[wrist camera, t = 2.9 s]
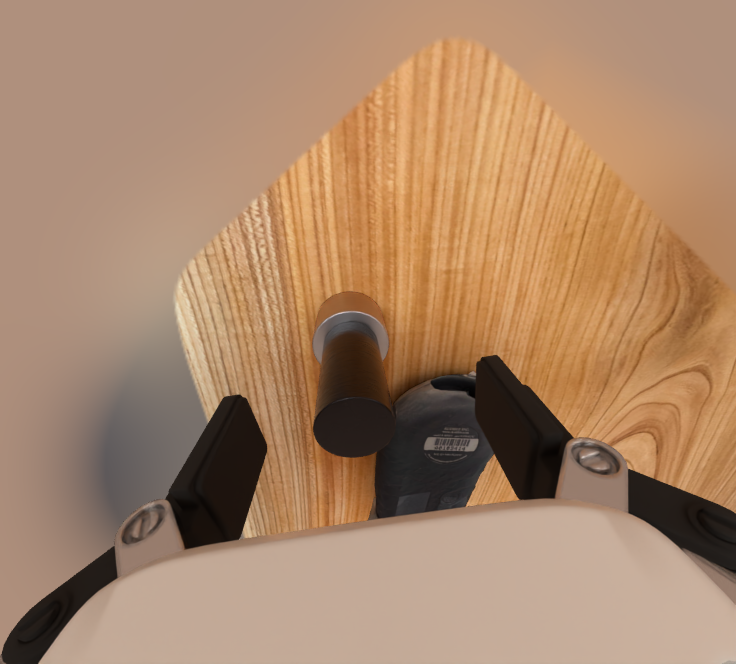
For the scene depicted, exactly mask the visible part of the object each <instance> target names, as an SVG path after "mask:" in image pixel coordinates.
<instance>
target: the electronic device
mask: <svg viewBox="0 0 736 664" xmlns="http://www.w3.org/2000/svg"><path fill="white" fill-rule="evenodd" d="M475 390H476V373H475V372H474V371H472V372H470V373H469V374H467V375H460V374H455V375H447V376H441V377H437V378H434V379H431V380H428V381H425V382H423V383H421V384H418V385H417V386H415V387H413V388H411V389H410V390H408V391H407V392H406V393H404V394H403V395H401V396H400V397H399V398H398V399H397V400H396V401H395V402H394V404H393V406H392V408H393V413H394V417H395V422H396V428H395V432H394V435H393V437H392V439H391V440H390V442H389V443H388V444H387V445H386V446H385V447H384V448H382V449H381V450H379V451H377V456H376V468H375V493H376V497H375V498H374V499H373V504H372V508H371V511H370V515H369V518H368V520H375V519H382V518H389V517H396V516H403V515H410V514H418V513H425V512H432V511H439V510H447V509H454V508H461V507H465V506H466V504H467V502H468V500H469V498H470V496H471V493H472V491H473V490H474V488H475V485H476V482H477V480H478V478H479V476H480V474H481V473H482V472H483V470H484V468H485V466H486V464H487V462H488V461H489V460H490V459H491V457H492V456H493V454H494V452H493V450H492V448H491V446H490V445H489V443H488V441H487V439H486V437H485V435H484V433H483V431H482V429H481V428H480V426H479V424H478V422H477V420H476V417H475ZM368 520H367V521H368Z"/></svg>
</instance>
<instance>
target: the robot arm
mask: <svg viewBox="0 0 736 664" xmlns="http://www.w3.org/2000/svg"><path fill="white" fill-rule="evenodd" d="M475 417H476V420H477V422H478V424H479V426H480V428H481V429H482V431H483V433H484V435H485V437H486V439H487V441H488V443H489V445H490V446H491V448H492V450H493V452H494V454H495V456H496V458H497V460H498V462H499V463H500V465H501V467H502V469H503V471H504V473H505V475H506V477H507V479H508V480H509V482H510V484H511V486H512V488H513V490H514V492H515V494H516V495H517V497H518V498H519V499H520V500H518V501H509V502H501V503H493V504H484V505H476V506H468V507H461V508H454V509H447V510H439V511H432V512H425V513H418V514H410V515H403V516H396V517H389V518H382V519H375V520H368V521H361V522H354V523H347V524H340V525H333V526H326V527H319V528H313V529H306V530H299V531H293V532H286V533H279V534H273V535H266V536H259V537H252V538H246V539H240V540H239V538H240V537H241V534H242V531H243V528H244V524H245V521H246V518H247V515H248V511H249V508H250V505H251V502H252V498H253V495H254V492H255V489H256V485H257V482H258V479H259V476H260V472H261V469H262V466H263V463H264V459H265V456H266V453H267V444H266V441H265V439H264V437H263V434H262V432H261V430H260V428H259V425H258V423H257V421H256V419H255V416H254V414H253V412H252V410H251V407H250V405H249V403H248V401H247V399H246V398H245V397H242V396H241V395H232V396H226V397H224V398H223V399H222V401H221V403H220V404H219V406H218V408H217V409H216V411H215V413H214V414H213V416H212V418H211V420H210V421H209V423H208V425H207V426H206V428H205V430H204V432H203V433H202V435H201V437H200V438H199V440H198V442H197V444H196V445H195V447H194V449H193V450H192V452H191V454H190V455H189V457H188V459H187V461H186V463H185V464H184V466H183V467H182V469H181V471H180V472H179V474H178V476H177V478H176V479H175V481H174V483H173V484H172V486H171V488H170V489H169V494H168V495H167V497H166V499H165V500H164V499H157V500H154V501H151V502H148V503H146V504H144V505H143V506H141V507H139V508H138V509H137V510H135V511H134V512H133V513H132V514H131V515H130V516H129V517H128V518H127V519H126V520H125V521H124V522H123V523H122V525H121V526H120V528H119V529H118V531H117V533H116V536H115V542H114V545H115V546H114V547H112V548H111V549H110V550H108V551H107V552H106V553H104V554H103V555H101V556H100V557H99V558H97V559H96V560H95V561H93V562H92V563H91V564H89V565H88V566H87V567H85V568H84V569H82V570H81V571H80V572H78V573H77V574H76V575H74V576H73V577H72V578H70V579H69V580H68V581H66V582H65V583H64V584H62V585H61V586H60V587H58V588H57V589H56V590H54V591H53V592H51V593H50V594H49V595H47V596H46V597H45V598H43V599H42V600H41V601H40V602H38V603H37V604H36V605H35V606H34V607H32V608H31V609H30V610H29V611H28V612H27V613H26V614H25V616H24V617H23V618H22V619H21V620H20V621H19V622H18V623H17V625H16V626H15V628H14V629H13V630H12V631H11V633H10V635H9V637H8V638H7V640H6V642H5V644H4V647H3V651H2V654H1V655H0V664H736V513H734V512H733V511H731V510H729V509H727V508H725V507H723V506H720V505H718V504H716V503H713V502H711V501H708V500H706V499H703V498H701V497H698V496H696V495H693V494H691V493H688V492H686V491H683V490H681V489H678V488H676V487H673V486H671V485H668V484H665V483H663V482H660V481H658V480H655V479H653V478H650V477H648V476H645V475H643V474H640V473H638V472H635V471H633V470H630V469H628V467H627V463H626V461H625V459H624V458H623V457H622V455H621V454H620V453H619V452H617V451H616V450H615V449H614V448H612V447H611V446H609V445H607V444H606V443H603V442H601V441H598V440H596V439H591V438H582V437H579V438H573V436H572V435H571V434H570V433H569V432H568V431H567V430H566V428H565V427H564V426H563V425H562V424H561V423H560V422H559V420H558V419H557V418H556V417H555V416H554V415H553V414H552V412H551V411H550V410H549V409H548V408H547V407H546V406H545V404H544V403H543V402H542V401H541V400H540V399H539V398H538V396H537V395H536V394H535V393H534V392H533V391H532V390H531V388H530V387H528V386H527V385H522V384H521V382H520V381H519V380H518V379H517V378H516V376H515V375H514V374H513V373H512V372H511V371H510V369H509V368H508V367H507V366H506V365H505V364H504V362H503V361H502V360H501V359H500V358H499V357H498V356H497V355H493V356H487V357H482V358H481V361H478V362H477V364H476V390H475Z"/></svg>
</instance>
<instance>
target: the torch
mask: <svg viewBox="0 0 736 664" xmlns="http://www.w3.org/2000/svg"><path fill="white" fill-rule="evenodd" d="M312 346H313V352H314V355H315V357H316V359H317V360H318V362H319V363H320V364H321V368H320V376H319V384H318V392H317V400H316V409H315V417H314V425H313V432H314V436H315V438H316V440H317V442H318V443H319V445H320V446H321V447H322V448H324V449H325V450H326V451H328V452H330V453H332V454H334V455H337V456H341V457H349V458H355V457H363V456H367V455H371V454H373V453H375V452H377V451H379V450H381V449H382V448H384V447H385V446H386V445H387V444H388V443H389V442H390V440H391V439H392V437H393V435H394V432H395V428H396V422H395V417H394V413H393V408H392V403H391V399H390V394H389V390H388V385H387V380H386V376H385V371H384V366H383V362H382V361H383V360H384V358H385V357H386V355H387V352H388V348H389V338H388V333H387V330H386V327H385V323H384V320H383V316H382V313H381V310H380V308H379V307H378V305H377V304H376V303H375V302H374V301H373V300H372V299H371V298H370V297H368V296H366V295H364V294H361V293H358V292H343V293H339V294H336V295H334V296H332V297H330V298H329V299H328V300H327V301H325V302H324V304H323V305H322V306H321V308H320V310H319V312H318V315H317V320H316V325H315V330H314V335H313V342H312Z"/></svg>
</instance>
